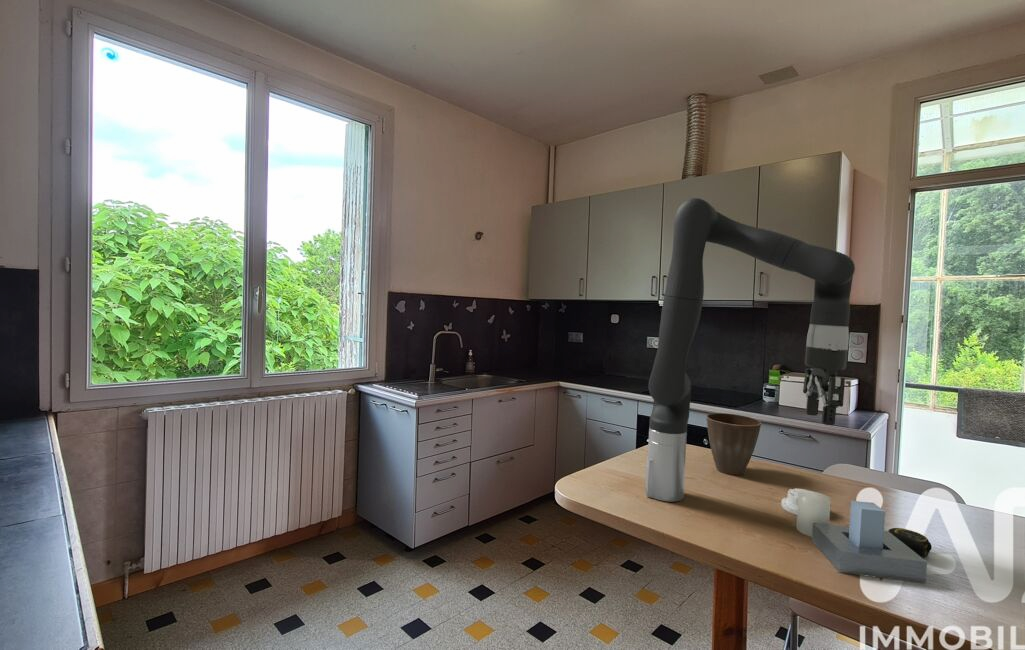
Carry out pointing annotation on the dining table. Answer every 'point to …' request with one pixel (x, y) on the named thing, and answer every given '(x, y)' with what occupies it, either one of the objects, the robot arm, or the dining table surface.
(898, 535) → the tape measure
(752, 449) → the plant pot
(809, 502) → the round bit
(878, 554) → the socket block
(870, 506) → the square bit
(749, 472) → the dining table surface
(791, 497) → the mechanical component
